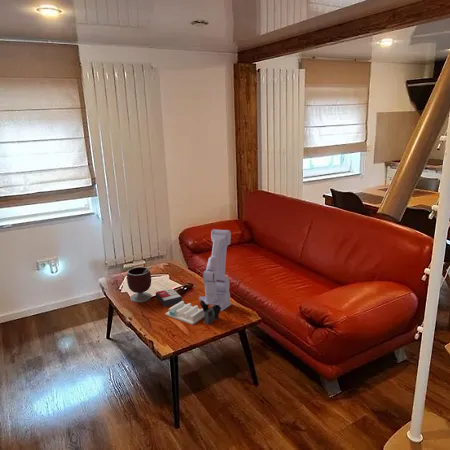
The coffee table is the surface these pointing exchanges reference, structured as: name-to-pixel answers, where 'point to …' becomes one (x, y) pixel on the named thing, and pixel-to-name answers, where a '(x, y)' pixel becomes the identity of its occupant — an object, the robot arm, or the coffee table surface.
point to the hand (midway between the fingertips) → (211, 316)
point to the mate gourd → (139, 283)
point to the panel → (209, 315)
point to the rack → (186, 313)
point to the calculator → (168, 297)
